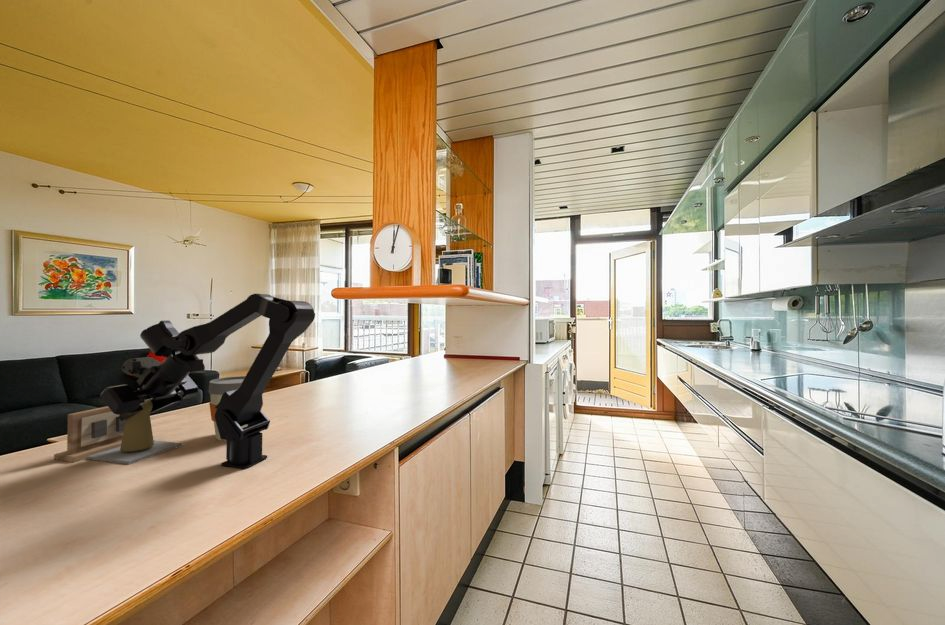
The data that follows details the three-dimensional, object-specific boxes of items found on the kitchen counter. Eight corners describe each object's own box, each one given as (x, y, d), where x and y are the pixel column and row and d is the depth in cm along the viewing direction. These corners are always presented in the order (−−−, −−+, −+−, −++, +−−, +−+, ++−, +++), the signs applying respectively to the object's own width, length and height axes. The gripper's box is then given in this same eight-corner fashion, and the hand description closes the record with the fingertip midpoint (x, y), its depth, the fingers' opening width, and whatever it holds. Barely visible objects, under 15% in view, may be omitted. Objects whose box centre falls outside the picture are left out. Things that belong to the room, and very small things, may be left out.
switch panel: (150, 438, 98) (151, 400, 98) (74, 462, 83) (75, 416, 83) (132, 437, 100) (133, 399, 100) (53, 459, 84) (54, 414, 84)
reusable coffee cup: (272, 431, 106) (273, 378, 106) (227, 445, 94) (228, 385, 94) (242, 425, 111) (243, 374, 111) (196, 438, 99) (197, 381, 99)
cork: (128, 453, 85) (129, 404, 85) (114, 449, 88) (115, 401, 88) (159, 444, 91) (160, 398, 91) (145, 441, 93) (146, 396, 93)
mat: (182, 445, 94) (182, 443, 94) (129, 464, 82) (129, 461, 82) (143, 441, 96) (143, 439, 96) (87, 459, 85) (87, 456, 85)
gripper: (189, 343, 98) (153, 384, 100) (107, 349, 79) (65, 400, 81) (215, 374, 96) (178, 415, 98) (138, 388, 78) (94, 438, 80)
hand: (133, 416), depth 90 cm, fingers open, 5 cm apart
